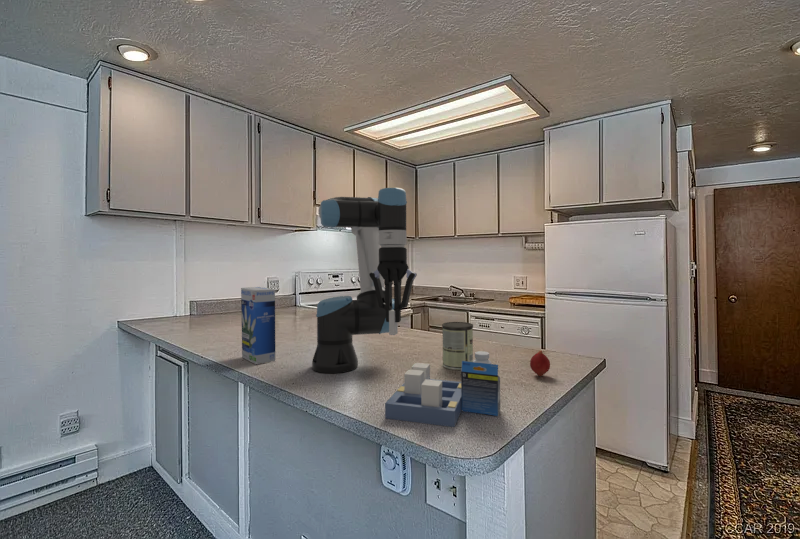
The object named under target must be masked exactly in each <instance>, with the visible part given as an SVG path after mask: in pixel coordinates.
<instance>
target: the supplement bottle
mask: <svg viewBox="0 0 800 539" xmlns="http://www.w3.org/2000/svg"><path fill="white" fill-rule="evenodd" d="M473 362H477V363H486V364H493V363H492V361H491V360H490V352H488V351H479V350H478V351H475V352H474V359H473ZM473 369H474V370H481V371H485V368H481V367H480V366H478V367H473Z"/></svg>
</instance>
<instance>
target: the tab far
mask: <svg viewBox="0 0 800 539" xmlns="http://www.w3.org/2000/svg"><path fill="white" fill-rule="evenodd" d="M411 370H420V371H424V381H425V379H427V380H430V379H431V363H423V362H414V364H413V365H412V366H411Z"/></svg>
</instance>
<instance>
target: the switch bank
mask: <svg viewBox="0 0 800 539" xmlns="http://www.w3.org/2000/svg"><path fill="white" fill-rule="evenodd" d="M430 380H436V379H435V378H430ZM437 380H438V381H442V408H441V407H432V406H423V405H421V395H419V394H410V393H404V383H402V384H401V386H399V387H398V389H397V390H396V391H395V392H394V393H393V395H391V396H390V397H389V399H388V400H387V401H385V403H384V404H385V405H384V410H385V411H384V414H385V415H384V419H388V420H394V421H395V420H396V421H403V422H410V423H411V422H412V423H418V424H419V423H420V424H426V425H435V426H442V427H449V428H450V427H451V428H455V427H456V425H457V422H458V420H459V417H460V415H461V412H462V410H461V381H456V380H446V379H445V380H444V379H443V380H442V379H437Z"/></svg>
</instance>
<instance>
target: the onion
mask: <svg viewBox="0 0 800 539" xmlns="http://www.w3.org/2000/svg"><path fill="white" fill-rule="evenodd" d="M529 364H530V365H529V366H530V369H531V371H533V372H534V373H535V374H536V375H537V376H539V377H542V376H544V375H545V374H546V373H548V372H549V370H550V369H551V368H550V367H551V361H550V359H549V358H548V356H547V355H546V354H544V353H543V350H539V351H538V352H537V353H535V354H533V356H532V357H531V358H530V361H529Z"/></svg>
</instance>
